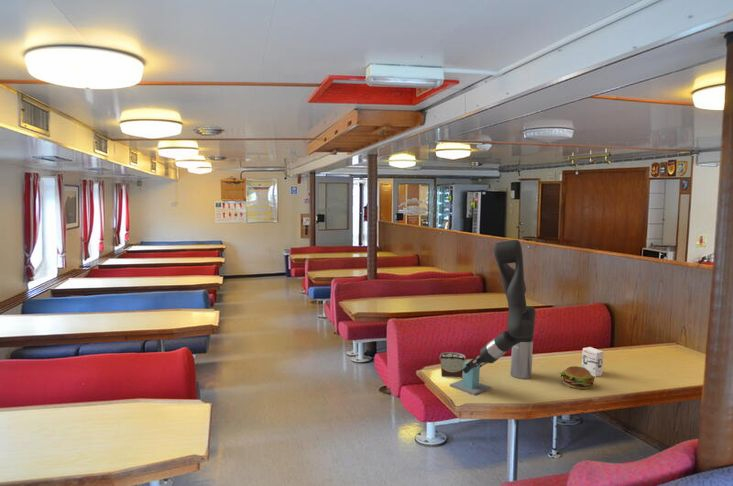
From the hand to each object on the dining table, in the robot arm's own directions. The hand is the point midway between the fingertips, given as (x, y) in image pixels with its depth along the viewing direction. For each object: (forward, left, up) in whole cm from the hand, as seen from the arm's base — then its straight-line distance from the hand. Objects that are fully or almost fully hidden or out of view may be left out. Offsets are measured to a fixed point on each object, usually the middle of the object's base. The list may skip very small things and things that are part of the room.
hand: (470, 369), depth 221 cm
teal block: (0, +1, -7) cm, 7 cm away
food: (-41, +28, -8) cm, 51 cm away
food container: (-6, -15, -8) cm, 18 cm away
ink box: (-61, +26, -8) cm, 67 cm away
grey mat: (0, 0, -8) cm, 8 cm away
